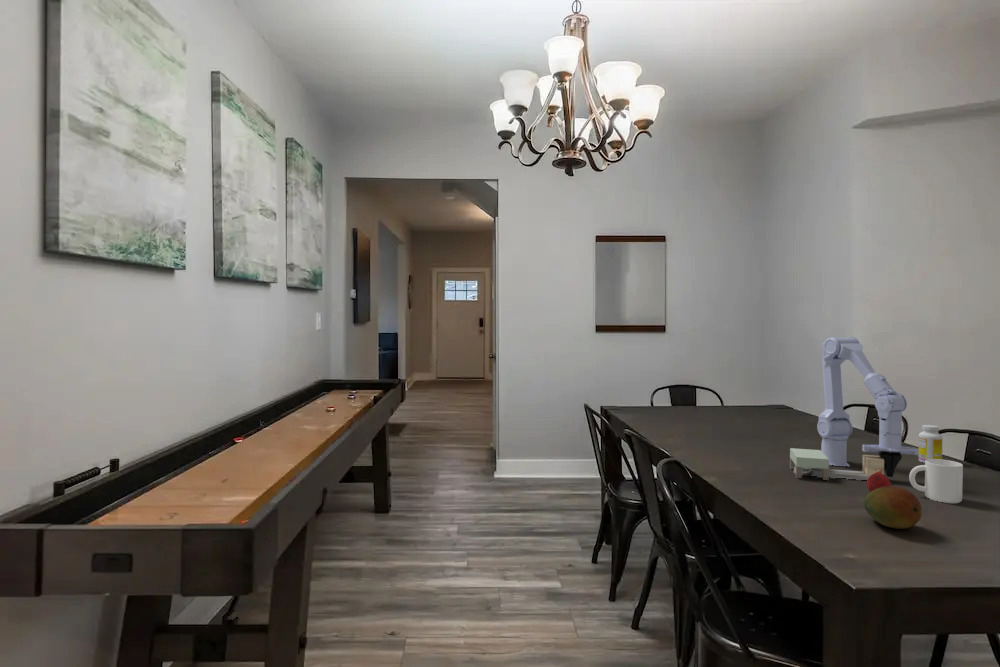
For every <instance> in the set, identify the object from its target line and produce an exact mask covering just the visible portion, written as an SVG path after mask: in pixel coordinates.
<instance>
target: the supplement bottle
mask: <svg viewBox="0 0 1000 667" xmlns="http://www.w3.org/2000/svg"><path fill="white" fill-rule="evenodd" d="M921 430H922V431H921V432H919V434H918V449H919V455H917V456H918V457H917V458H918V461H919V462H920V463H922V462H923V464H925V461H926V460H927V459H941V460H943V435H942V434H941V433H939V430H940V428H939V426H938V425H932V424H922V425H921Z"/></svg>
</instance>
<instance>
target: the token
mask: <svg viewBox="0 0 1000 667" xmlns="http://www.w3.org/2000/svg"><path fill="white" fill-rule="evenodd" d="M794 473H795V474H794ZM793 474H794V475H796V465H795V467H794V470H793ZM801 475H811V468H808V467H802V469H801ZM811 476H812V475H811Z"/></svg>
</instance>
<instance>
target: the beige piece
mask: <svg viewBox="0 0 1000 667" xmlns="http://www.w3.org/2000/svg"><path fill="white" fill-rule="evenodd" d="M861 469H862V470H861V471H858V470H846V469H845V470H844V469H832V468H831V469H830V468H829V477H830V478H829V479H835V478H846V479H845V480H848V479H856V480H855V481H861V480H867V479H868V478H869V477H870V476H871V475H872V474H874V473H876V472H877V471H878V470H881V471H883V472H882V474H883V475H885V467H884V459H883V458H881V457H880V456H879V455H873V454H872V455H871V454H862V468H861ZM811 474H812V475H811V477H813V476H817V477H816V478H822V477H823V469H822V468H821V469H819V468H811Z"/></svg>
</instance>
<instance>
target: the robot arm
mask: <svg viewBox="0 0 1000 667" xmlns="http://www.w3.org/2000/svg"><path fill="white" fill-rule="evenodd" d="M821 346H822V358H821V363H822V366H821V367H822V378H823V379H822V381H823V395H824V396H823V397H824V398H823V399H824V400H823V401H824V411H822V412H821V413H820V414H819V415H818V421H817V425H816V428H817V432H818V434H819V435H820V438H822V440H821V446H820V447H821V448H820V450H821V451H822V453H823V454H824V455H825V456H826V457H827V458H828V459H829V466H832V465H833V466H834V467H846V466H847V467H848V468H849V467H851V465H850V464H849V463H848V462H847V444H848V443H847V440H848V439H849V436H850V435H851V434H852V433H853V424H852V423H851V419H850V415H849V414H848V413H847V412H846V411H845V410H844V400H843V399H844V398H843V386H842V384H843V383H842V371H841V367H842V366H841V365H842V364H843V363H844V362H845V361H846V360H847V361H850V362H851V363H852V365H853V366H854V367H855V368H856V369H857V371H858V373H860V374H861V375H862V377H863V378H864V380H863V384H864V386H865V387H866V389H867V390H868V391H869V393H870V394H871V396H872V397H873V398H874V399H875V402H874V407H875V409H876V411H877V416H878V418H879V422H878V423H879V426H878V427H879V428H878V430H879V432H878V433H879V434H878V444H862V446H861V451H862V452H864V453H868V452H869V453H878V456H880V457H881V458H883V459H884V472H885V476H886V477H887V478H893V476H894V475H895V470H896V468H897V466H898V464H899V463H900V461H901V460H902V458H903V456H902V454H903V455H913V456H918V455H919V447H918V448H917V447H913V446H912V447H911V446H902V431H903V430H902V427H903V426H902V424H903V421H902V420H903V418H902V417H903V412H904V411H905V410H906V409H907V406H908V402H907V399H906V398H905V395H904V394H902V393H899V392H897V391H895V390H894V388H893V387H892V386H891V385H890V384H889V382H888V381H887V378H886V376H885V375H883V374H881V373H877V372H876V371H875V369H874V368H873V366H872V365H871V363H870V361H869V359H868V358H867V357H866V355H865V353H864V352H863V348H864V347H863V345H862V344H861V342H860V341H859V340H858V338H857V337H854V336H849V337H848V336H847V337H835V336H834V337H833V336H831V337H828V338H826V340H825V341H823V343H822V344H821Z"/></svg>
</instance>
